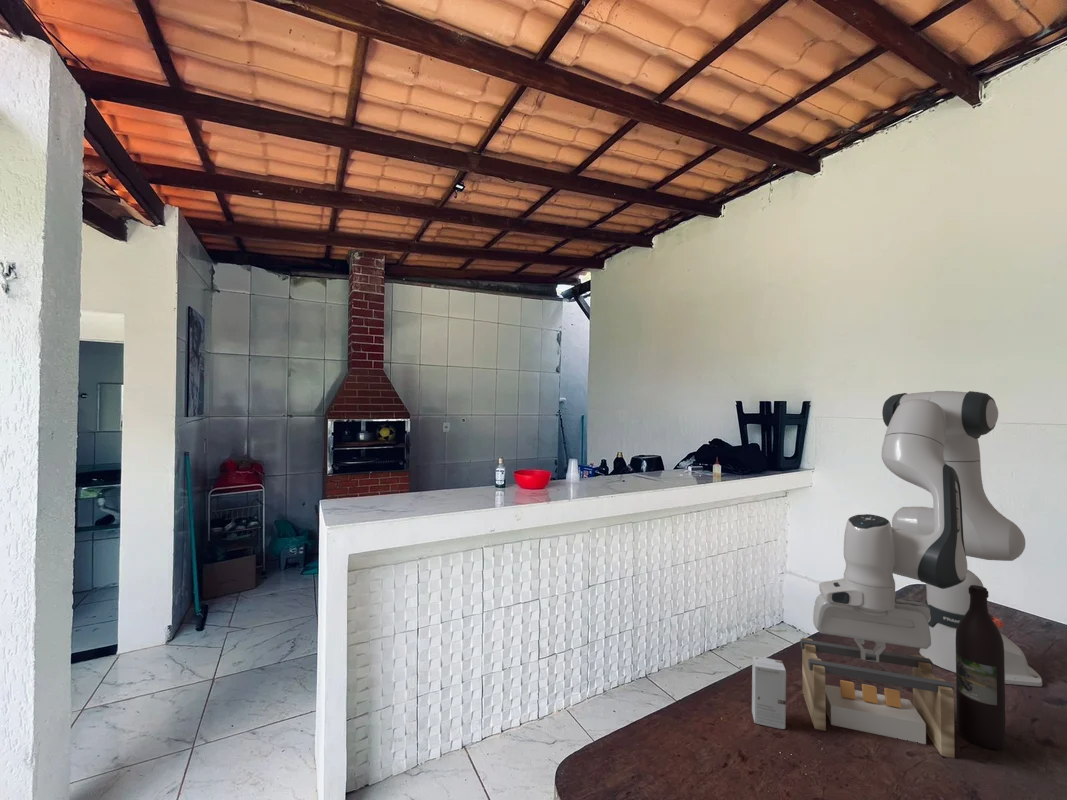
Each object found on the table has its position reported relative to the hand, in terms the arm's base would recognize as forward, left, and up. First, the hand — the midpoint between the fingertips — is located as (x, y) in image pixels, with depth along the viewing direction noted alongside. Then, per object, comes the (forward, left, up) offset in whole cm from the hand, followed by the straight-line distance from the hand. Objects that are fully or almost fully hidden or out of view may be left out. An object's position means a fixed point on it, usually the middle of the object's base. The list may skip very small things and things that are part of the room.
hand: (869, 660), depth 98 cm
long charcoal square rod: (0, -5, -2) cm, 5 cm away
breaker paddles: (0, 0, -9) cm, 9 cm away
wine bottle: (-19, -2, -13) cm, 23 cm away
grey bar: (0, +4, -2) cm, 5 cm away
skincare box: (+20, +7, -13) cm, 25 cm away
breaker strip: (0, 0, -13) cm, 13 cm away
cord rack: (0, 0, -13) cm, 13 cm away
